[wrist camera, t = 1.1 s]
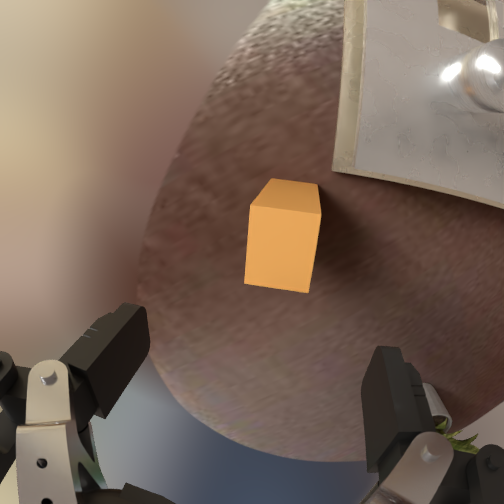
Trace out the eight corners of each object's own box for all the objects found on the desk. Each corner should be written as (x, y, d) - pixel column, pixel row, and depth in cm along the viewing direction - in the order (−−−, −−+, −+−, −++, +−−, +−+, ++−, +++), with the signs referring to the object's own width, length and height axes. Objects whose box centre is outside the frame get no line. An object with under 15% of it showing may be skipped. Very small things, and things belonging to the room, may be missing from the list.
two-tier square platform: (509, 17, 15) (575, -9, 4) (499, 206, 23) (573, 252, 12) (344, -40, 17) (356, -115, 6) (330, 169, 25) (347, 199, 14)
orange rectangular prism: (317, 184, 26) (321, 214, 17) (309, 238, 28) (308, 293, 19) (271, 178, 27) (250, 205, 17) (266, 232, 28) (244, 283, 19)
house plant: (400, 441, 37) (410, 530, 22) (340, 412, 36) (338, 521, 21) (474, 387, 31) (508, 480, 16) (423, 348, 30) (462, 467, 15)
